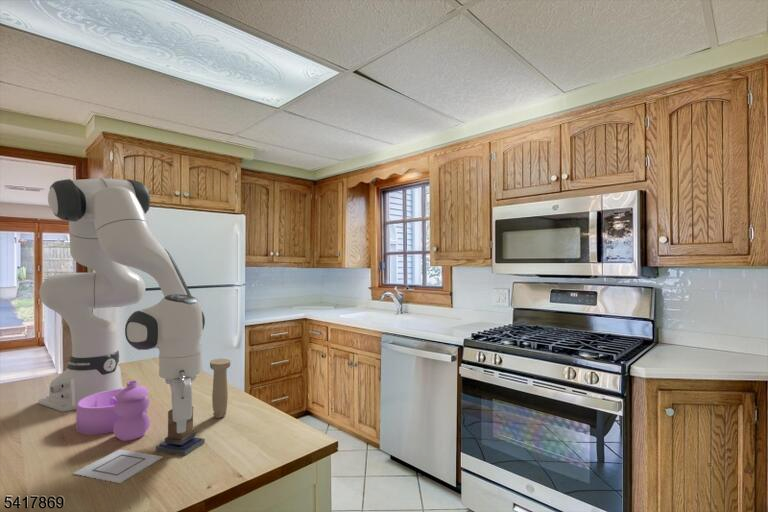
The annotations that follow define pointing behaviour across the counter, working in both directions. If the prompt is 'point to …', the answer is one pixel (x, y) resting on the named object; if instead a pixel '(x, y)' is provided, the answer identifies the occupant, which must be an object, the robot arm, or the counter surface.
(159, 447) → the ink tin
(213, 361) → the handle
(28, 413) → the counter surface
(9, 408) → the counter surface
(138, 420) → the container set
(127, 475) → the card
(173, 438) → the stamp
